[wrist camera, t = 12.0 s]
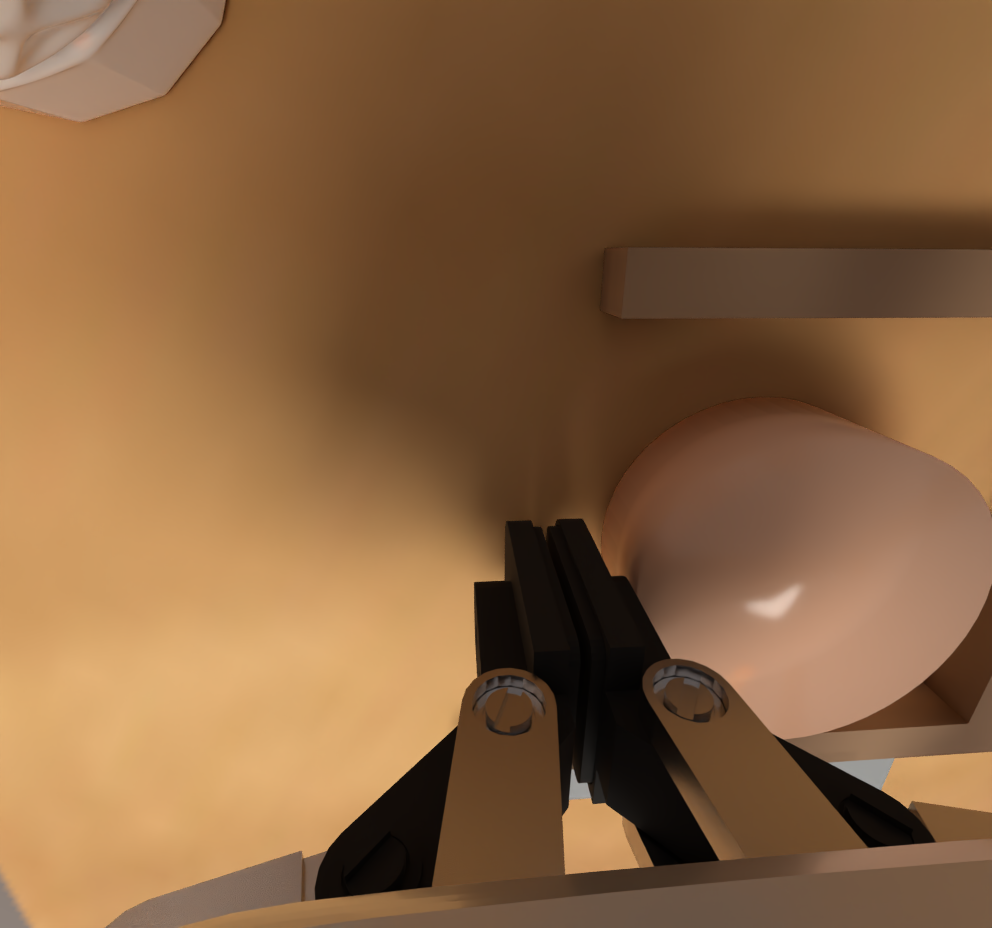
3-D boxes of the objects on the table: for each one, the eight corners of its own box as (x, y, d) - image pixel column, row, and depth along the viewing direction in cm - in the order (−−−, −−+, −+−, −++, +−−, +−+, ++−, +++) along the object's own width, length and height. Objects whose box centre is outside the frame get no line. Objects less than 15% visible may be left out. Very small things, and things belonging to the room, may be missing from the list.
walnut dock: (1156, 251, 11) (1256, 251, 10) (946, 709, 16) (992, 751, 15) (604, 248, 10) (627, 247, 9) (566, 732, 15) (577, 779, 14)
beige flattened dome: (895, 387, 12) (1054, 436, 9) (829, 623, 15) (933, 726, 12) (606, 400, 12) (664, 456, 9) (592, 641, 14) (632, 752, 11)
